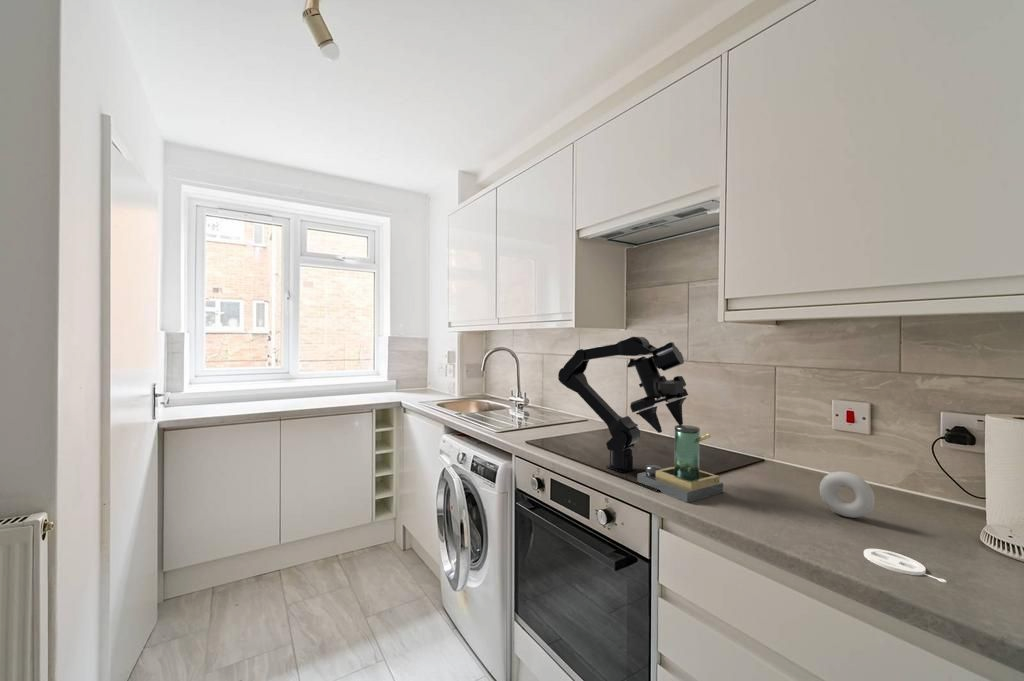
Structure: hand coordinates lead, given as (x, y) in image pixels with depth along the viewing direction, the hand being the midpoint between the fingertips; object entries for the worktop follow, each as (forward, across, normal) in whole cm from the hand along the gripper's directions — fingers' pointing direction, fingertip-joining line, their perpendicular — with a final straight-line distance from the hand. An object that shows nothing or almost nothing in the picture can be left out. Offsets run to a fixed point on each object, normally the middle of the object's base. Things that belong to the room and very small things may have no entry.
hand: (671, 428), depth 118 cm
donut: (+29, +11, -27) cm, 41 cm away
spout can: (+14, -5, -4) cm, 16 cm away
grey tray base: (+15, -5, +1) cm, 16 cm away
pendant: (+33, -5, -41) cm, 53 cm away
